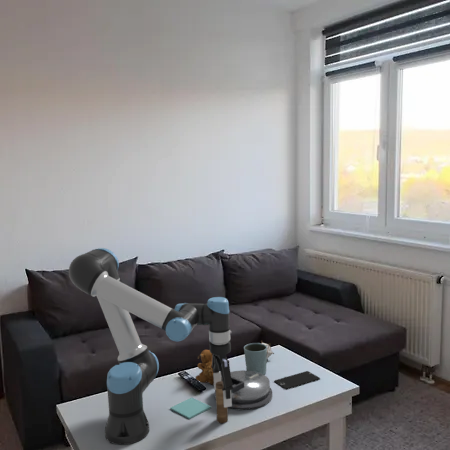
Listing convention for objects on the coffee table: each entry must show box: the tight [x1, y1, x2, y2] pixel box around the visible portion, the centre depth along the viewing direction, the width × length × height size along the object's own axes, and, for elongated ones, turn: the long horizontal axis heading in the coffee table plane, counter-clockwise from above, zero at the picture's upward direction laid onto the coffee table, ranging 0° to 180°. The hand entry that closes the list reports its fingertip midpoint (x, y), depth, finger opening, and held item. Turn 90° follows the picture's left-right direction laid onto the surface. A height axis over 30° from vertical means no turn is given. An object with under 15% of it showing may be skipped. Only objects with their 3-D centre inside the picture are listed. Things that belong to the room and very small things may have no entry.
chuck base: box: [214, 387, 273, 411], centre depth 200 cm, size 23×23×2 cm
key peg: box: [215, 381, 229, 424], centre depth 180 cm, size 4×4×14 cm
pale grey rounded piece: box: [260, 340, 275, 360], centre depth 234 cm, size 9×8×10 cm
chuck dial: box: [221, 370, 271, 404], centre depth 199 cm, size 21×21×6 cm
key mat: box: [169, 397, 212, 420], centre depth 190 cm, size 11×11×1 cm
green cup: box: [243, 342, 268, 376], centre depth 219 cm, size 10×10×12 cm
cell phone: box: [273, 370, 321, 391], centre depth 212 cm, size 9×18×1 cm, turn 119°
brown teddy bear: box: [195, 349, 214, 386], centre depth 212 cm, size 10×14×13 cm
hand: (222, 397), depth 180 cm, fingers open, 13 cm apart
